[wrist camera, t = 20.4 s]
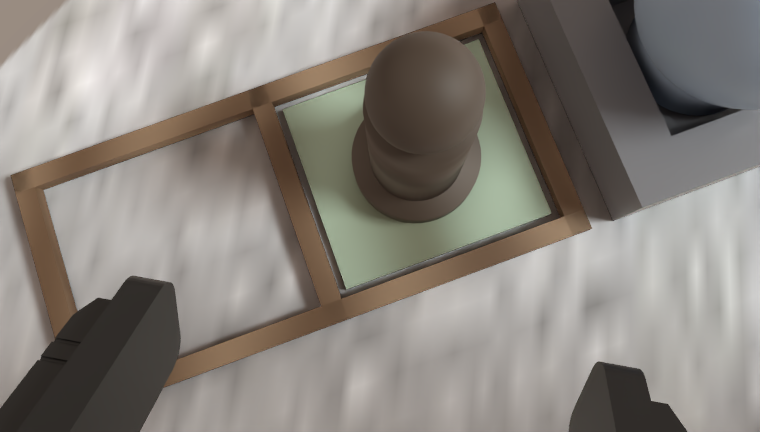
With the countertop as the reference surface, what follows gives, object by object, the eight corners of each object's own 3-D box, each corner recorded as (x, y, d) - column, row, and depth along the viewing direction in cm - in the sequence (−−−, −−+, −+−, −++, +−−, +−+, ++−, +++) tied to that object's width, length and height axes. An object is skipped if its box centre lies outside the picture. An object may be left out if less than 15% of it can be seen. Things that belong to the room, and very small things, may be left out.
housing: (736, -78, 27) (778, -127, 24) (844, 134, 25) (904, 110, 22) (517, 0, 26) (532, -40, 23) (613, 220, 25) (642, 207, 22)
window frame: (492, 9, 26) (494, 2, 26) (587, 230, 25) (591, 228, 24) (19, 178, 26) (10, 175, 25) (85, 416, 24) (77, 419, 24)
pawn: (451, 85, 26) (483, -46, 16) (496, 198, 25) (557, 126, 16) (336, 126, 25) (303, 16, 16) (377, 240, 25) (368, 193, 15)
